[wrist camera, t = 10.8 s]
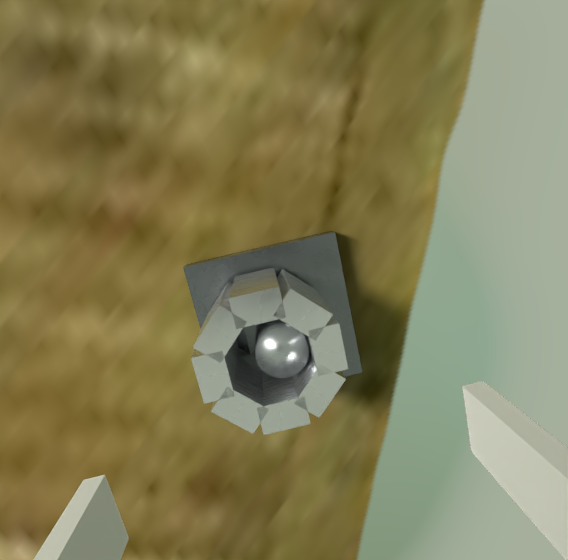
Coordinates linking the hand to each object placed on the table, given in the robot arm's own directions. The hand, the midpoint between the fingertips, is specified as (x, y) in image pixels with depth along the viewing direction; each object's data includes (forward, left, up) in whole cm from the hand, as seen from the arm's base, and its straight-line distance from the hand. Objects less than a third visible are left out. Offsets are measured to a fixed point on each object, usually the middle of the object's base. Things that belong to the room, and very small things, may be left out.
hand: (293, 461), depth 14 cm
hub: (0, 0, -16) cm, 16 cm away
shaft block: (0, 0, -19) cm, 19 cm away
